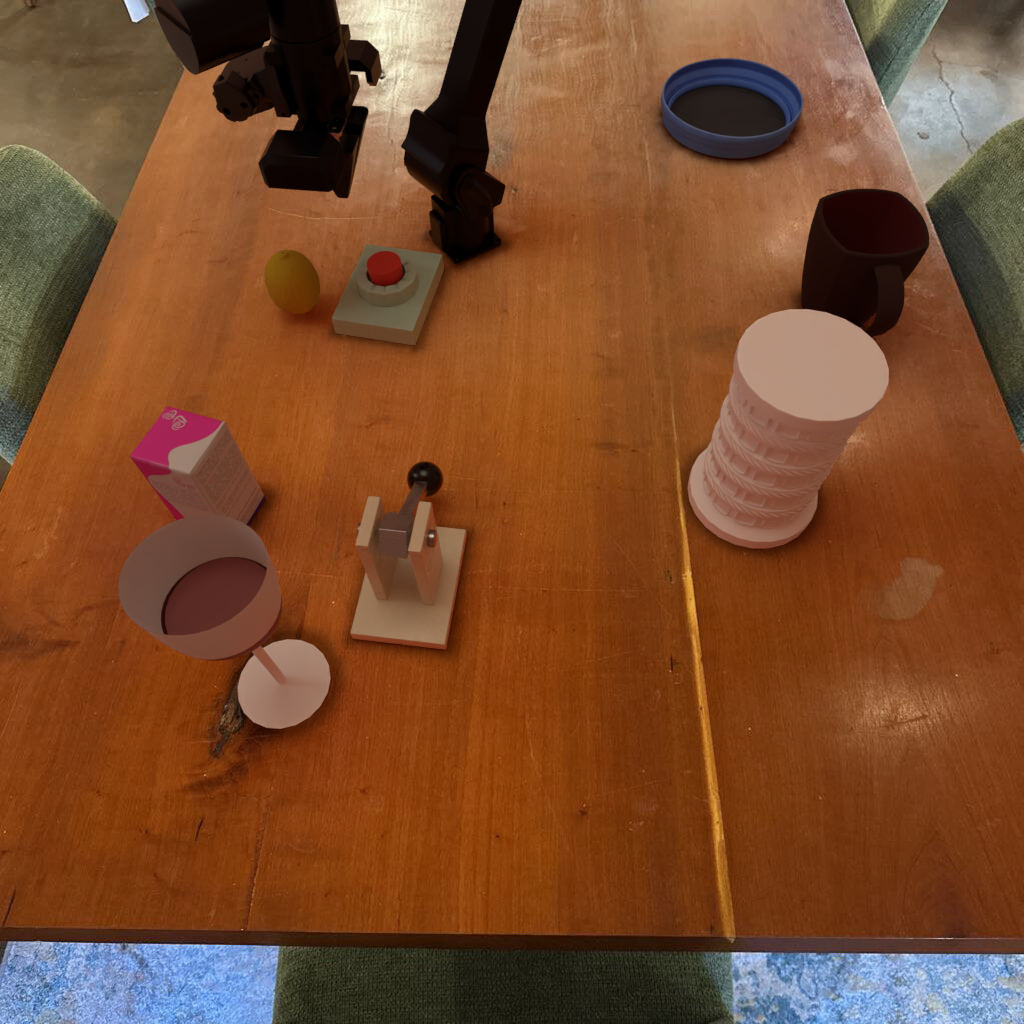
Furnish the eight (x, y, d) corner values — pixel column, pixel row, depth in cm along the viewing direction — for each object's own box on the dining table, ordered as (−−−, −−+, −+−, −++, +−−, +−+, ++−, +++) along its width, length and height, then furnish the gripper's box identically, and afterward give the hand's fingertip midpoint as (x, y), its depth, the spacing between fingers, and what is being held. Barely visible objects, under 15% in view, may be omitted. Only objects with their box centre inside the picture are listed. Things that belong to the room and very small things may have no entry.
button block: (369, 259, 88) (363, 230, 85) (444, 269, 87) (441, 241, 84) (335, 333, 82) (327, 305, 79) (415, 345, 81) (410, 318, 78)
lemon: (318, 332, 82) (299, 274, 76) (269, 325, 83) (246, 267, 76) (334, 297, 85) (317, 238, 78) (287, 290, 86) (266, 231, 79)
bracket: (380, 526, 70) (358, 458, 61) (466, 535, 69) (458, 468, 60) (352, 638, 64) (323, 582, 55) (446, 650, 64) (432, 595, 54)
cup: (859, 278, 86) (905, 184, 75) (904, 372, 78) (961, 282, 68) (772, 285, 85) (806, 191, 75) (809, 380, 78) (852, 290, 68)
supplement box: (268, 496, 72) (227, 420, 62) (236, 548, 69) (188, 478, 59) (214, 479, 73) (165, 402, 63) (180, 530, 70) (124, 458, 60)
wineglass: (235, 641, 64) (130, 520, 47) (339, 632, 64) (272, 509, 47) (225, 736, 60) (106, 641, 43) (335, 726, 60) (261, 628, 43)
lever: (411, 485, 70) (411, 453, 68) (446, 489, 70) (446, 457, 68) (372, 559, 59) (371, 523, 57) (413, 564, 58) (413, 527, 57)
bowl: (815, 108, 103) (824, 81, 100) (762, 180, 95) (770, 154, 92) (693, 69, 108) (698, 43, 105) (634, 135, 100) (637, 108, 97)
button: (375, 261, 83) (372, 248, 81) (407, 266, 82) (405, 253, 81) (365, 284, 81) (362, 271, 80) (397, 289, 81) (395, 276, 79)
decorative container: (661, 485, 72) (698, 352, 56) (747, 424, 75) (805, 283, 60) (752, 572, 67) (820, 453, 51) (840, 503, 70) (928, 372, 55)
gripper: (242, -37, 66) (289, 133, 79) (165, 84, 56) (233, 254, 70) (368, -31, 65) (394, 140, 79) (311, 93, 56) (352, 263, 69)
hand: (343, 195), depth 74 cm, fingers closed
